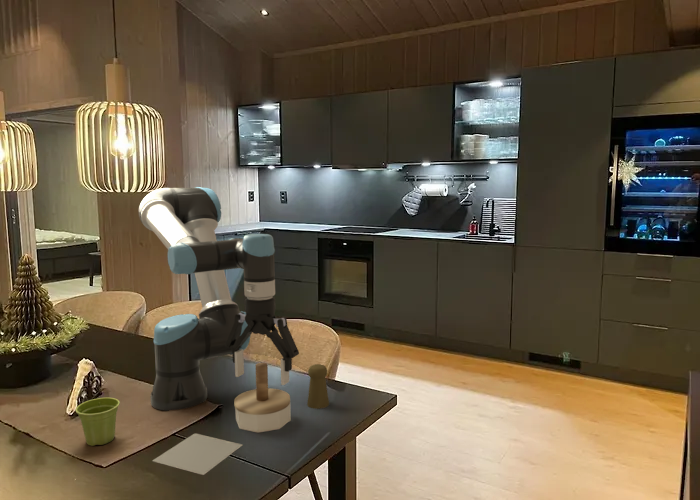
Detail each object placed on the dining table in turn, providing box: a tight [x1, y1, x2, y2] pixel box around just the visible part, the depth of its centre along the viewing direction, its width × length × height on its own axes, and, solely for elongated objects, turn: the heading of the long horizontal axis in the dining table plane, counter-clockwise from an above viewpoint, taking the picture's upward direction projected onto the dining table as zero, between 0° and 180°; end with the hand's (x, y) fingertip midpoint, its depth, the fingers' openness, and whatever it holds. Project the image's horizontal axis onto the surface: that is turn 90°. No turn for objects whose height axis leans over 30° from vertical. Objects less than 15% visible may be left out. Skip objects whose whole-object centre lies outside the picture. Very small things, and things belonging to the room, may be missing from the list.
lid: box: [233, 362, 291, 415], centre depth 136 cm, size 14×14×10 cm
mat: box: [152, 432, 243, 476], centre depth 121 cm, size 14×14×1 cm
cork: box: [306, 363, 330, 410], centre depth 147 cm, size 6×6×11 cm
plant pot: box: [75, 397, 121, 446], centre depth 128 cm, size 9×9×9 cm
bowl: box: [234, 403, 292, 433], centre depth 137 cm, size 13×13×5 cm
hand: (262, 379), depth 136 cm, fingers open, 13 cm apart
